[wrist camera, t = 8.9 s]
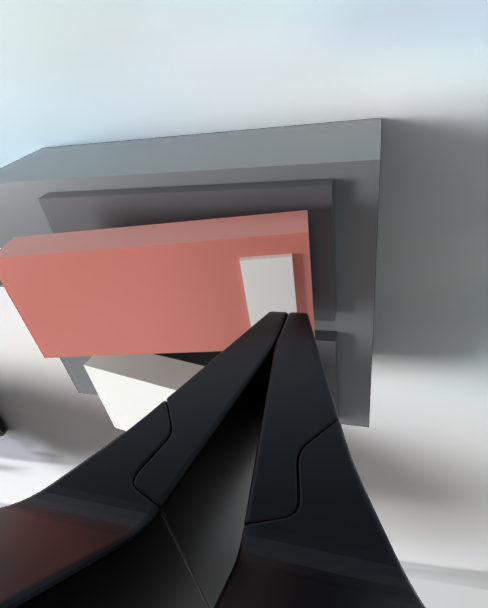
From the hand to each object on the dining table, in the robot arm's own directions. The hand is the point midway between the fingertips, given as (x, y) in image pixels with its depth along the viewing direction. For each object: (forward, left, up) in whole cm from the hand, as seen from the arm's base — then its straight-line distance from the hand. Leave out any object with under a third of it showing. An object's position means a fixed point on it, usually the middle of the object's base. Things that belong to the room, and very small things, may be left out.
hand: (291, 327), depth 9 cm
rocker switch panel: (-7, -3, -7) cm, 10 cm away
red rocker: (-4, 0, -1) cm, 4 cm away
